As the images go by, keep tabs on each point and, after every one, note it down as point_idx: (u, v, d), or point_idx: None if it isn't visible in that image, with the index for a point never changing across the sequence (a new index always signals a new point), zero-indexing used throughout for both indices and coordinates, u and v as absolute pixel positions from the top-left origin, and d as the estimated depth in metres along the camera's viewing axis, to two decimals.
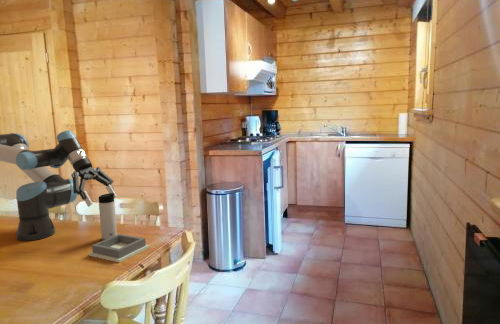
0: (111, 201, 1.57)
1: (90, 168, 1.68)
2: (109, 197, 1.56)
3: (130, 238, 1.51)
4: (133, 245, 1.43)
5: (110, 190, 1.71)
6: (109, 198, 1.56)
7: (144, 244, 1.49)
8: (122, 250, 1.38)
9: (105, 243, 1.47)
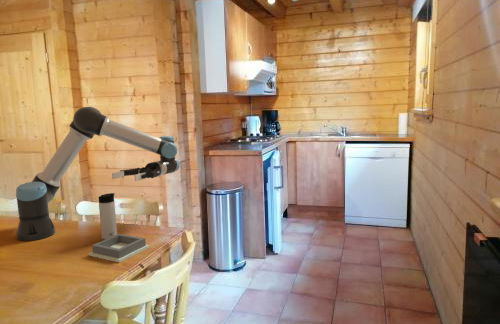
0: (111, 201, 1.57)
1: None
2: (109, 197, 1.56)
3: (130, 238, 1.51)
4: (133, 245, 1.43)
5: (119, 175, 1.73)
6: (109, 198, 1.56)
7: (144, 244, 1.49)
8: (122, 250, 1.38)
9: (105, 243, 1.47)
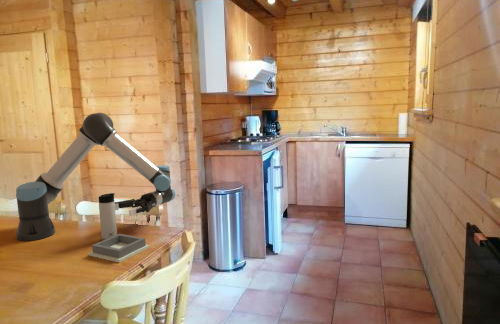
0: (111, 201, 1.57)
1: None
2: (109, 197, 1.56)
3: (130, 238, 1.51)
4: (133, 245, 1.43)
5: None
6: (109, 198, 1.56)
7: (144, 244, 1.49)
8: (122, 250, 1.38)
9: (105, 243, 1.47)
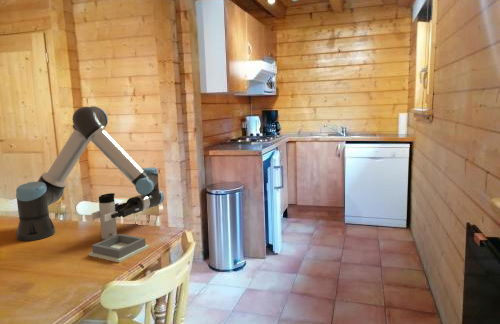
0: (111, 201, 1.57)
1: None
2: (109, 197, 1.56)
3: (130, 238, 1.51)
4: (133, 245, 1.43)
5: None
6: (109, 198, 1.56)
7: (144, 244, 1.49)
8: (122, 250, 1.38)
9: (105, 243, 1.47)
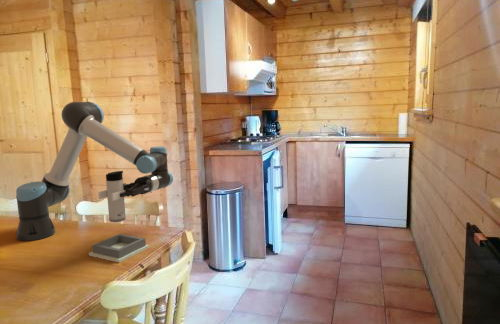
0: (119, 179, 1.46)
1: None
2: (117, 175, 1.45)
3: (130, 238, 1.51)
4: (133, 245, 1.43)
5: None
6: (117, 176, 1.45)
7: (144, 244, 1.49)
8: (122, 250, 1.38)
9: (105, 243, 1.47)
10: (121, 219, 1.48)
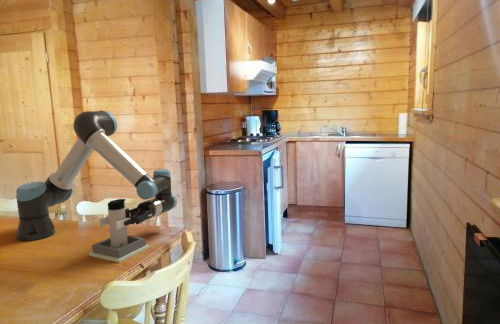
0: (122, 208, 1.43)
1: None
2: (119, 203, 1.42)
3: (130, 238, 1.51)
4: (133, 245, 1.43)
5: (108, 221, 1.46)
6: (119, 204, 1.42)
7: (144, 244, 1.49)
8: (122, 250, 1.38)
9: (105, 243, 1.47)
10: None
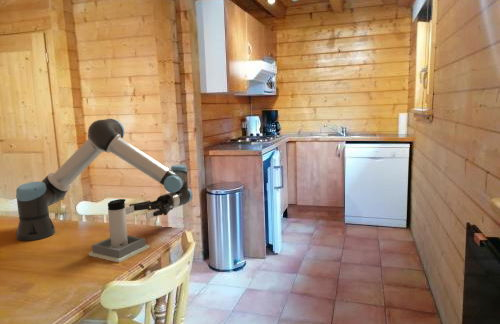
0: (122, 208, 1.42)
1: None
2: (119, 203, 1.41)
3: (130, 238, 1.51)
4: (133, 245, 1.43)
5: (129, 211, 1.59)
6: (119, 205, 1.41)
7: (144, 244, 1.49)
8: (122, 250, 1.38)
9: (105, 243, 1.47)
10: None
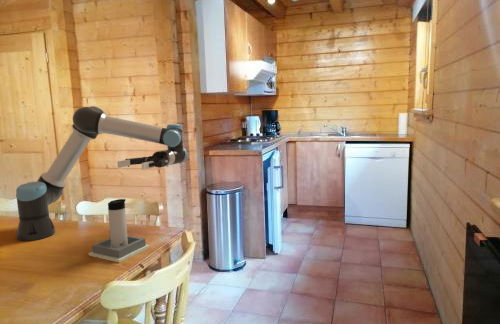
0: (122, 208, 1.42)
1: None
2: (120, 203, 1.42)
3: (130, 238, 1.51)
4: (133, 245, 1.43)
5: (125, 164, 1.63)
6: (120, 205, 1.42)
7: (144, 244, 1.49)
8: (122, 250, 1.38)
9: (105, 243, 1.47)
10: None
